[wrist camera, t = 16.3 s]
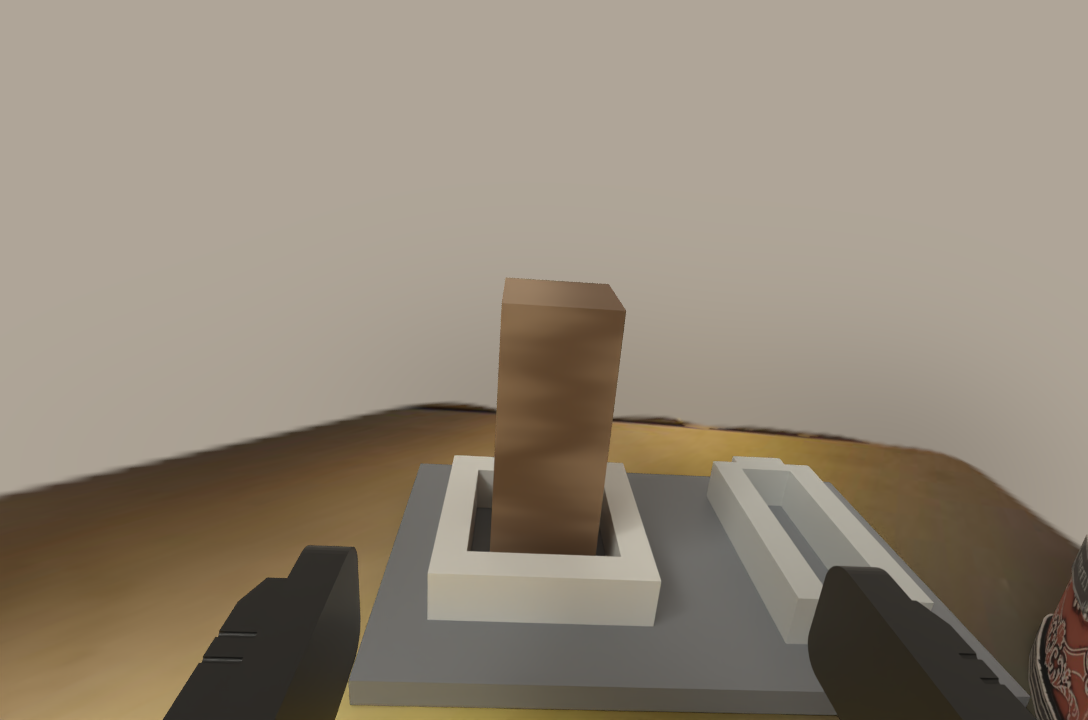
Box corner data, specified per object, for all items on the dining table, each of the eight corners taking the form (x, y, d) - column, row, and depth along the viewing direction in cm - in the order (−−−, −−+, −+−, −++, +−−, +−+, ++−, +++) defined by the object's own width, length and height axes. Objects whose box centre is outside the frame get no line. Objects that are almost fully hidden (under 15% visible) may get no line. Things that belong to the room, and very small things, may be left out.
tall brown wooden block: (488, 582, 22) (501, 303, 18) (493, 519, 26) (505, 277, 22) (591, 585, 22) (626, 310, 18) (581, 522, 26) (608, 284, 22)
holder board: (349, 704, 18) (345, 629, 17) (420, 480, 30) (420, 429, 29) (1019, 718, 19) (1053, 650, 18) (825, 498, 31) (838, 449, 30)
